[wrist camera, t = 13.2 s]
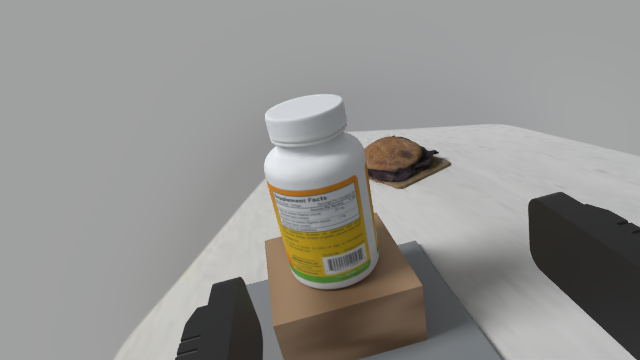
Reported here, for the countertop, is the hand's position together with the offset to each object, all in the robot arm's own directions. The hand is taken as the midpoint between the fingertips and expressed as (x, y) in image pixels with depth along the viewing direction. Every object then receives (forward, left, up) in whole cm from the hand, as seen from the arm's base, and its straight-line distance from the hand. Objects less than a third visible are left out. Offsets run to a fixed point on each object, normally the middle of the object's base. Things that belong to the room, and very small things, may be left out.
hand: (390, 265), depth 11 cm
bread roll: (-10, -31, -13) cm, 35 cm away
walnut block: (+1, -11, -12) cm, 16 cm away
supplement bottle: (+1, -11, -8) cm, 13 cm away
